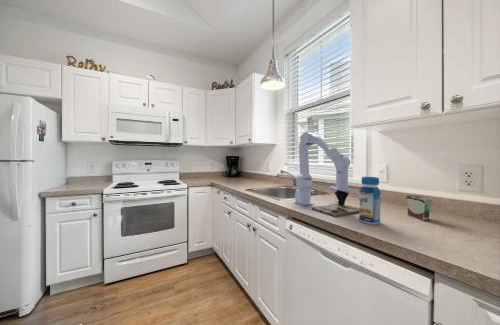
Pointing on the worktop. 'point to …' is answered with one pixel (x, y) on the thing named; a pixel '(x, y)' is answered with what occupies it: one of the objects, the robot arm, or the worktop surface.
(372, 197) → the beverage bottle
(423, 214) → the food container
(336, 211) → the switch board
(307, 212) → the worktop surface
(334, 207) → the knob
